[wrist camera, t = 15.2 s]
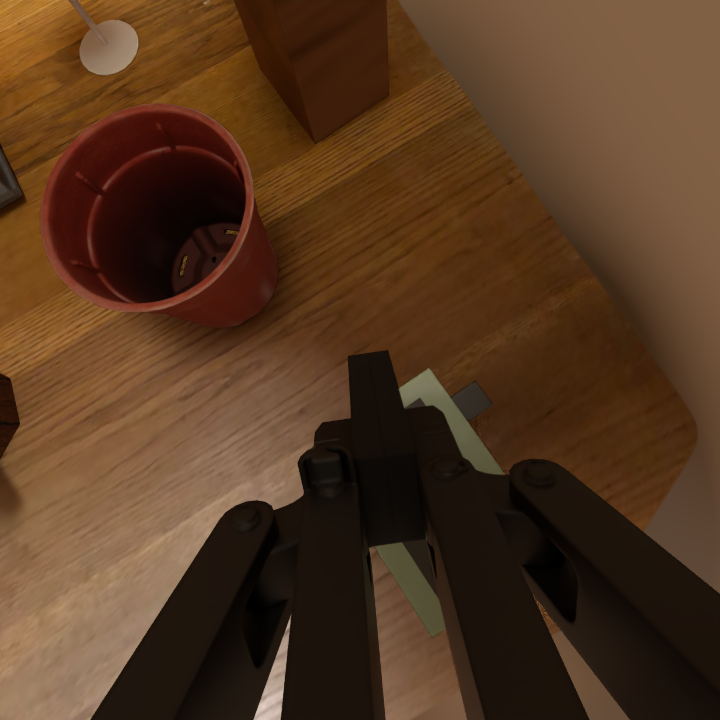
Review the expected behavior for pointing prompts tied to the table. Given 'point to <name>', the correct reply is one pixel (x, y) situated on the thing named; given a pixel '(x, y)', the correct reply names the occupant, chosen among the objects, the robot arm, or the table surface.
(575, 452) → the table surface
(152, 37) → the table surface
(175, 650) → the robot arm
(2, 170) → the book
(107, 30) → the wineglass
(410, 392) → the toaster
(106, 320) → the table surface
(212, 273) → the flower pot
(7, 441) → the mug
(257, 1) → the red button pedestal
